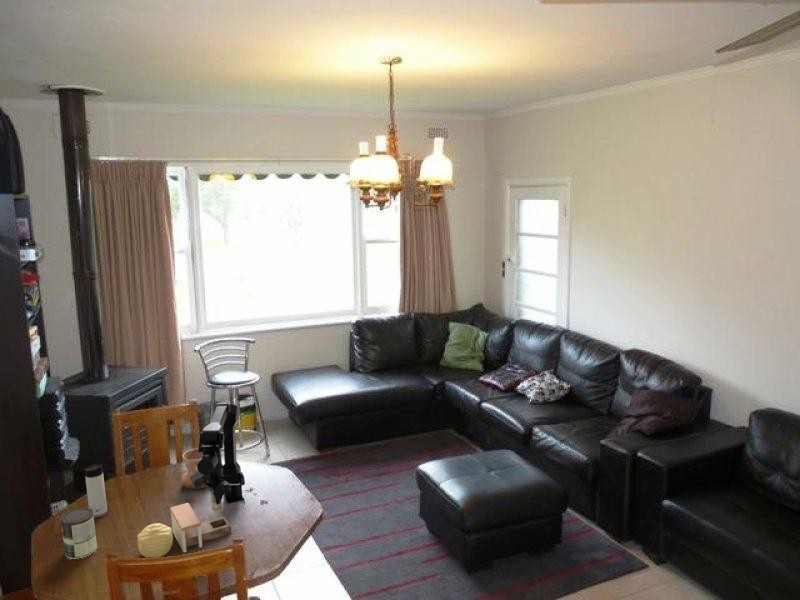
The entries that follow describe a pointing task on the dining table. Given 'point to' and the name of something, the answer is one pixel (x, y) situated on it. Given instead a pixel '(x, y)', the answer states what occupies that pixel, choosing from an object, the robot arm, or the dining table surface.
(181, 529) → the footed pink board
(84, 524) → the coffee can
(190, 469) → the ceramic jug
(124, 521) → the dining table surface
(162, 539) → the sculpture
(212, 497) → the peg
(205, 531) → the socket block
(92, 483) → the travel mug
